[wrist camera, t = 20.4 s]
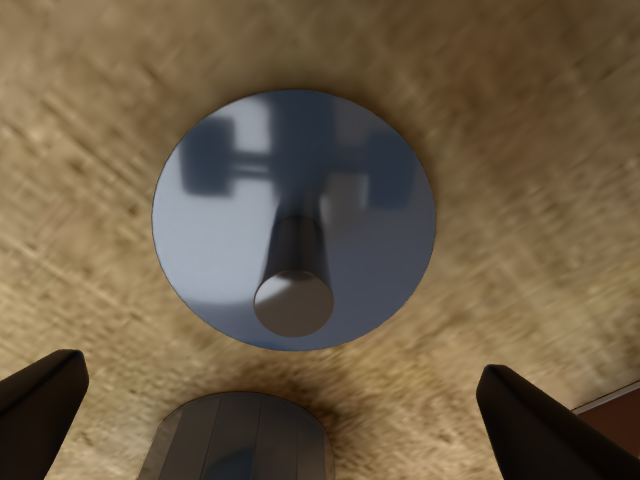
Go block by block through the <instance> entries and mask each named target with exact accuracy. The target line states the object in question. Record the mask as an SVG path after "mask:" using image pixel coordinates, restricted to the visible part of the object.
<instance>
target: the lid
mask: <svg viewBox="0 0 640 480" xmlns="http://www.w3.org/2000/svg"><path fill="white" fill-rule="evenodd" d="M151 217H152V235H153V240H154V245H155V250H156V253H157V256H158V259H159V262H160V265H161V267H162V269H163V271H164V273H165V275H166V277H167V279H168V281H169V283H170V284H171V286H172V287H173V289H174V290H175V292H176V293H177V295H178V296H179V297H180V298H181V300H182V301H183V302H184V303H185V304H186V305H187V306H188V308H189V309H191V310H192V311H193V312H194V313H195V314H196V315H197V316H198V317H199V318H201V319H202V320H203V321H205V322H206V323H207V324H209V325H210V326H212V327H213V328H215V329H216V330H218V331H220V332H222V333H224V334H225V335H227V336H229V337H231V338H234V339H236V340H239V341H241V342H243V343H247V344H250V345H253V346H257V347H261V348H266V349H271V350H280V351H311V350H319V349H325V348H329V347H334V346H337V345H340V344H343V343H346V342H349V341H352V340H354V339H356V338H359V337H361V336H363V335H365V334H367V333H368V332H370V331H372V330H373V329H375V328H377V327H378V326H380V325H381V324H383V323H384V322H385V321H386V320H388V319H389V318H390V317H392V316H393V315H394V314H395V313H396V312H397V311H398V310H399V309H400V308H401V307H402V306H403V305H404V304H405V302H406V301H407V300H408V299H409V297H410V296H411V295H412V294H413V292H414V291H415V289H416V287H417V286H418V284H419V283H420V281H421V279H422V277H423V275H424V273H425V271H426V268H427V266H428V263H429V260H430V257H431V254H432V251H433V245H434V239H435V233H436V212H435V204H434V197H433V194H432V190H431V186H430V182H429V180H428V177H427V175H426V173H425V170H424V168H423V166H422V164H421V162H420V161H419V159H418V157H417V156H416V154H415V152H414V151H413V149H412V148H411V147H410V145H409V144H408V143H407V142H406V141H405V139H404V138H403V137H402V136H401V135H400V133H398V132H397V131H396V130H395V129H394V128H393V127H392V126H391V125H389V124H388V123H387V122H386V121H385V120H384V119H382V118H381V117H379V116H378V115H376V114H375V113H373V112H372V111H370V110H369V109H367V108H365V107H363V106H361V105H359V104H356V103H354V102H352V101H350V100H348V99H345V98H342V97H338V96H335V95H332V94H329V93H324V92H318V91H312V90H305V89H282V90H274V91H266V92H260V93H257V94H253V95H250V96H246V97H242V98H240V99H237V100H235V101H233V102H231V103H228V104H226V105H224V106H222V107H220V108H218V109H217V110H215V111H214V112H212V113H210V114H209V115H207V116H206V117H204V118H203V119H202V120H201V121H199V122H198V123H197V124H196V125H195V126H194V127H192V128H191V129H190V130H189V131H188V132H187V133H186V134H185V136H184V137H183V138H182V139H181V140H180V141H179V143H178V144H177V145H176V146H175V148H174V149H173V151H172V152H171V154H170V156H169V157H168V159H167V161H166V162H165V164H164V167H163V169H162V171H161V174H160V176H159V178H158V181H157V185H156V189H155V193H154V197H153V205H152V215H151Z"/></svg>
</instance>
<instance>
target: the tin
mask: <svg viewBox="0 0 640 480" xmlns="http://www.w3.org/2000/svg"><path fill="white" fill-rule="evenodd" d="M135 480H336V477H335V465H334V454H333V450H332V448H331V442H330V439H329V437H328V434H327V433H326V431H325V429H324V427H323V426H322V425H321V424H320V422H319V421H318V420H317V419H316V418H315V417H314V416H313V415H311V414H310V413H309V412H307V411H306V410H304V409H303V408H302V407H300V406H298V405H296V404H294V403H292V402H289V401H287V400H284V399H282V398H278V397H275V396H271V395H267V394H261V393H253V392H226V393H218V394H213V395H209V396H205V397H202V398H199V399H196V400H193V401H191V402H189V403H187V404H185V405H183V406H181V407H180V408H178V409H176V410H175V411H174V412H172V413H171V414H170V415H169V416H168V417H167V418H166V419H165V420H164V421H163V422H162V423H161V425H160V426H159V428H158V430H157V431H156V433H155V436H154V438H153V440H152V442H151V444H150V447H149V449H148V451H147V453H146V456H145V458H144V460H143V463H142V465H141V467H140V470H139V472H138V474H137V477H136V479H135Z"/></svg>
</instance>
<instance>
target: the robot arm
mask: <svg viewBox="0 0 640 480" xmlns="http://www.w3.org/2000/svg"><path fill="white" fill-rule="evenodd" d="M88 386H89V375H88V371H87V367H86V363H85V359H84V355H83V353H82V352H81V351H80V350H72V349H60V350H57V351H55V352H53V353H51V354H49V355H48V356H46V357H44V358H42V359H40V360H38V361H37V362H35V363H33V364H31V365H29V366H27V367H26V368H24V369H22V370H20V371H18V372H16V373H15V374H13V375H11V376H9V377H7V378H5V379H4V380H2V381H0V480H44V478H45V476H46V474H47V473H48V471H49V469H50V467H51V465H52V464H53V462H54V460H55V458H56V456H57V454H58V452H59V449H60V447H61V445H62V443H63V441H64V439H65V437H66V434H67V432H68V430H69V428H70V426H71V424H72V422H73V419H74V417H75V415H76V413H77V411H78V409H79V407H80V404H81V402H82V400H83V398H84V396H85V394H86V392H87V389H88ZM476 399H477V403H478V406H479V409H480V412H481V415H482V418H483V421H484V424H485V427H486V430H487V433H488V436H489V439H490V443H491V446H492V449H493V452H494V455H495V458H496V461H497V463H498V466H499V469H500V472H501V474H502V476H503V479H504V480H640V459H639V458H637V457H636V456H634V455H633V454H632V453H630V452H629V451H627V450H626V449H624V448H623V447H622V446H620V445H619V444H617V443H616V442H614V441H613V440H612V439H610V438H609V437H607V436H606V435H604V434H603V433H602V432H600V431H599V430H597V429H596V428H594V427H593V426H592V425H590V424H589V423H587V422H586V421H584V420H583V419H582V418H580V417H579V416H577V415H576V414H574V413H573V412H572V411H570V410H569V409H567V408H566V407H564V406H563V405H562V404H560V403H559V402H557V401H556V400H554V399H553V398H552V397H550V396H549V395H547V394H546V393H544V392H543V391H542V390H540V389H539V388H537V387H536V386H534V385H533V384H532V383H530V382H529V381H527V380H526V379H524V378H523V377H522V376H520V375H519V374H517V373H516V372H514V371H513V370H512V369H510V368H509V367H507V366H505V365H495V364H489V365H487V366H486V367H485V368H484V370H483V373H482V376H481V378H480V381H479V384H478V386H477V390H476Z"/></svg>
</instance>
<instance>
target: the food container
mask: <svg viewBox="0 0 640 480" xmlns="http://www.w3.org/2000/svg"><path fill="white" fill-rule="evenodd" d="M572 412H573V413H574V414H576V415H577V416H579V417H580V418H582V419H583V420H584V421H586V422H587V423H589V424H590V425H592V426H593V427H594V428H596V429H597V430H599V431H600V432H602V433H603V434H604V435H606V436H607V437H609V438H610V439H612V440H613V441H614V442H616V443H617V444H619V445H620V446H622V447H623V448H624V449H626V450H627V451H629V452H630V453H632V454H633V455H634V456H636V457H637V458H639V459H640V381H639V382H637V383H634V384H632V385H630V386H627V387H625V388H623V389H621V390H618V391H616V392H614V393H612V394H609V395H607V396H605V397H602V398H600V399H598V400H596V401H593V402H591V403H589V404H587V405H584V406H582V407H580V408H577V409H575V410H573V411H572Z"/></svg>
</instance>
